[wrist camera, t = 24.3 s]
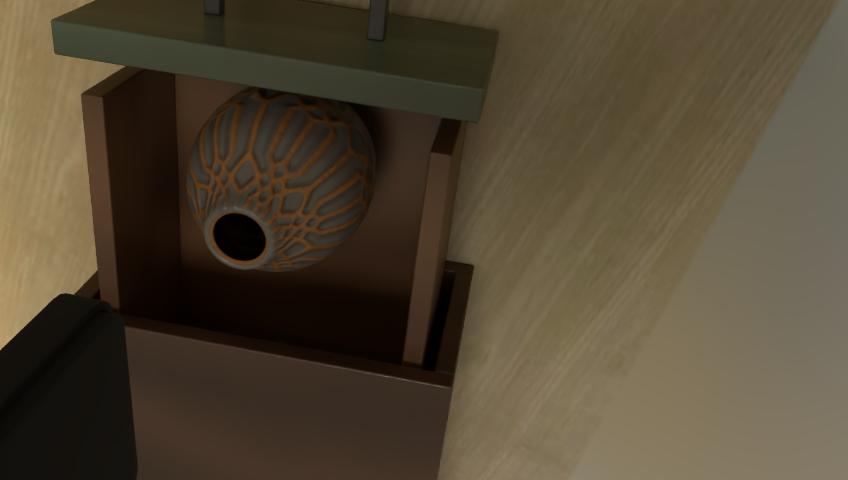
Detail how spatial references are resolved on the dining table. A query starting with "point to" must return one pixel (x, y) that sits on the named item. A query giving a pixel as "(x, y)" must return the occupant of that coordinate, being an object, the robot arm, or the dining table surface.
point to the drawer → (295, 73)
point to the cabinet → (287, 402)
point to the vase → (280, 179)
